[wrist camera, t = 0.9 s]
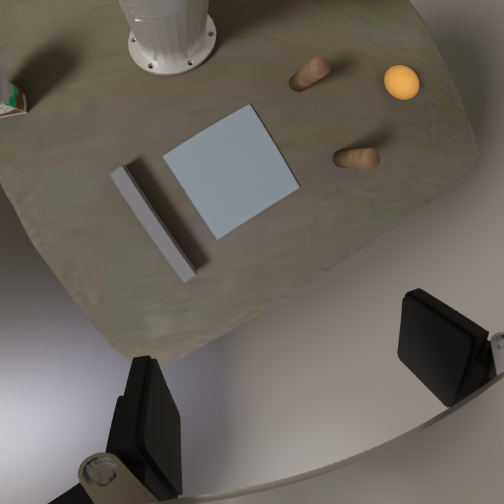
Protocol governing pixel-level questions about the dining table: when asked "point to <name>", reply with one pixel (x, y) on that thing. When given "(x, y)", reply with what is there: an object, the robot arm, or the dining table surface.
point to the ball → (401, 82)
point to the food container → (11, 98)
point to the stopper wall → (153, 223)
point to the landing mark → (231, 171)
